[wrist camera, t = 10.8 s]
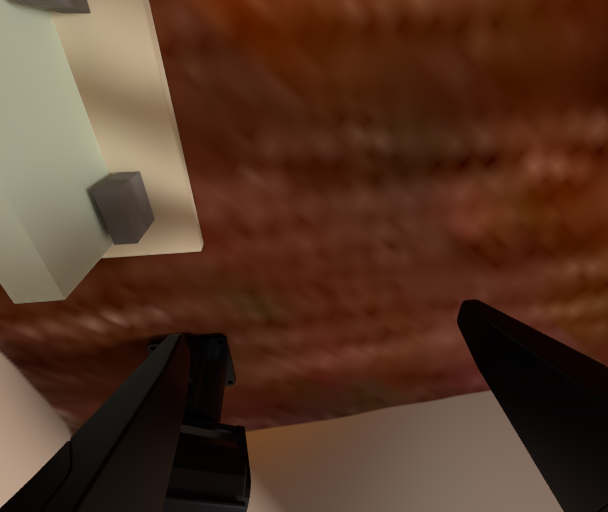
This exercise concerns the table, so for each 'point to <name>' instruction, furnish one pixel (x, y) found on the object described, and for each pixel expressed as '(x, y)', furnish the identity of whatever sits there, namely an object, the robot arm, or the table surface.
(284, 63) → the table surface
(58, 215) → the door panel
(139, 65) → the hinge base
